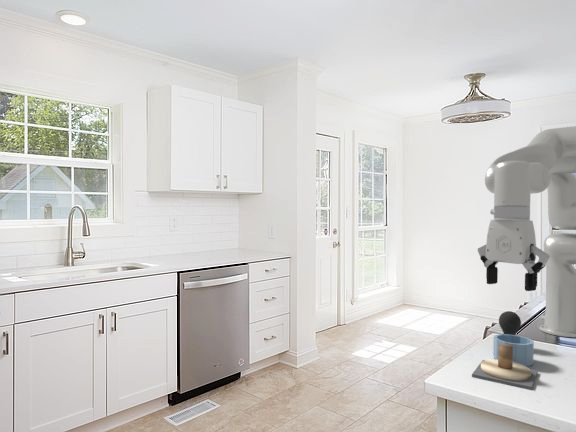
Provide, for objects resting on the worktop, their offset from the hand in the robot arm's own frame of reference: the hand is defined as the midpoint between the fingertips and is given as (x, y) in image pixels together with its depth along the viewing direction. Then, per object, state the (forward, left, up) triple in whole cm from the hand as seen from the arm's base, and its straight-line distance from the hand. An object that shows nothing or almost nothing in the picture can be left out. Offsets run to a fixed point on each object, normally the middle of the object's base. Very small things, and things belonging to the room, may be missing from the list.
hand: (510, 286), depth 101 cm
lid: (+1, -1, -20) cm, 20 cm away
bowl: (-8, +6, -20) cm, 23 cm away
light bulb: (-20, +12, -21) cm, 31 cm away
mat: (+1, -1, -20) cm, 20 cm away
